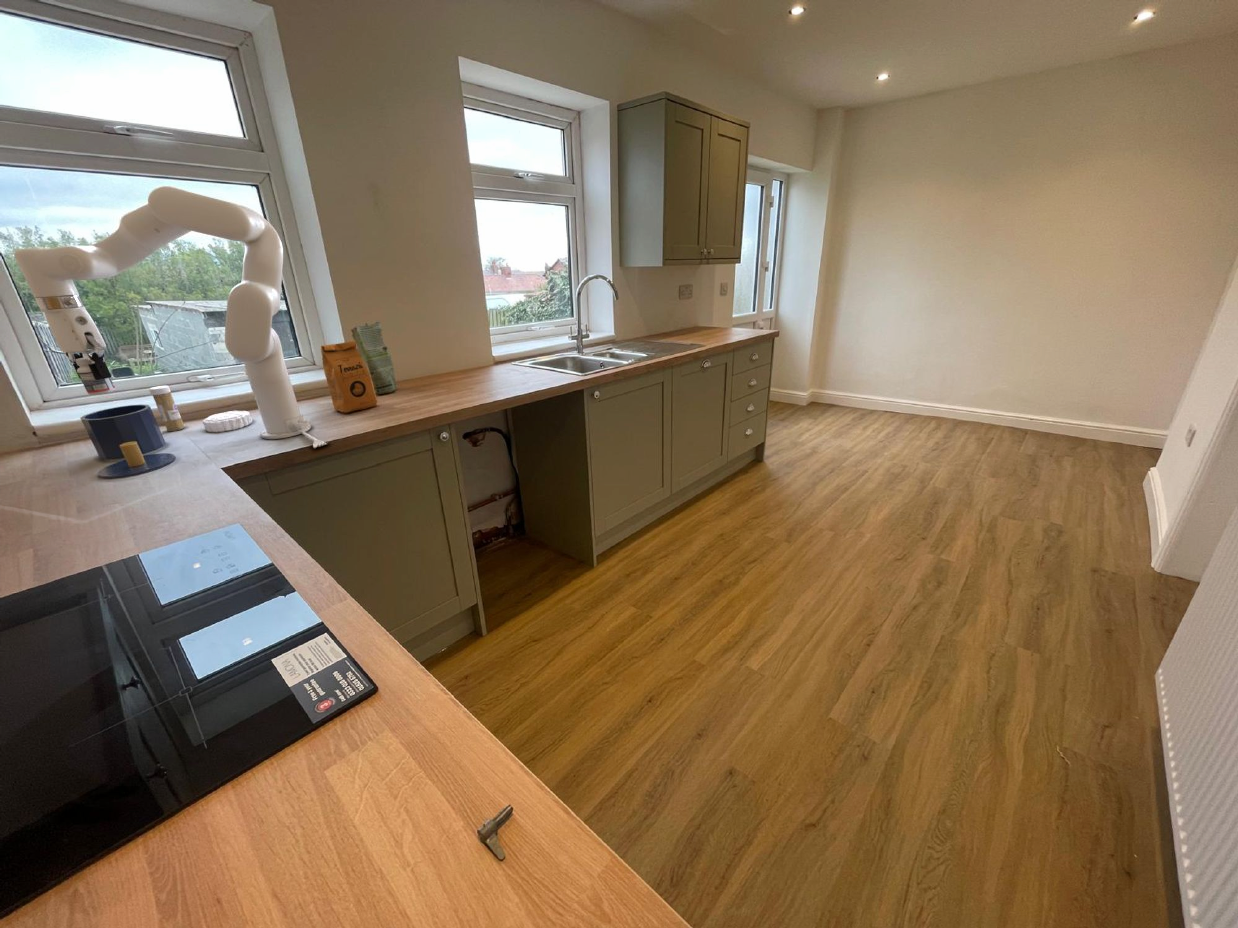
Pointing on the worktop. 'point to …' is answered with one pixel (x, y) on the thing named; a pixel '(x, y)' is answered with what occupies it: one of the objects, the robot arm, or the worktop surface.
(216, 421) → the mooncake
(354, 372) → the coffee package
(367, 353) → the pouch
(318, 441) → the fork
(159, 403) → the sprinkles bottle
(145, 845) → the worktop surface
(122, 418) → the tin
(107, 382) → the pill bottle
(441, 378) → the worktop surface
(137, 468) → the tin lid
